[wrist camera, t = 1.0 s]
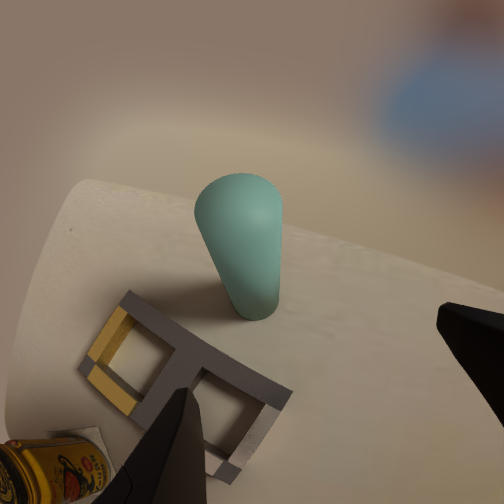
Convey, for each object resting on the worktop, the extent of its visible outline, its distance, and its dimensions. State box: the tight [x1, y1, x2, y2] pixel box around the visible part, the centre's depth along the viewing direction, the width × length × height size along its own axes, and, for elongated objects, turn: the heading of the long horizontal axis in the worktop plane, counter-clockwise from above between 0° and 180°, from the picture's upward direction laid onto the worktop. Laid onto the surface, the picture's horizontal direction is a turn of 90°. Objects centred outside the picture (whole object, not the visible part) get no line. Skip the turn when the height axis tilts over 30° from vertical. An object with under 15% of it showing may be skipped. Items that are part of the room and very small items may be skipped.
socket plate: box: [79, 290, 293, 485], centre depth 20 cm, size 9×16×2 cm, turn 60°
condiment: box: [0, 427, 116, 504], centre depth 12 cm, size 7×8×12 cm
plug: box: [194, 173, 282, 321], centre depth 18 cm, size 4×4×13 cm
